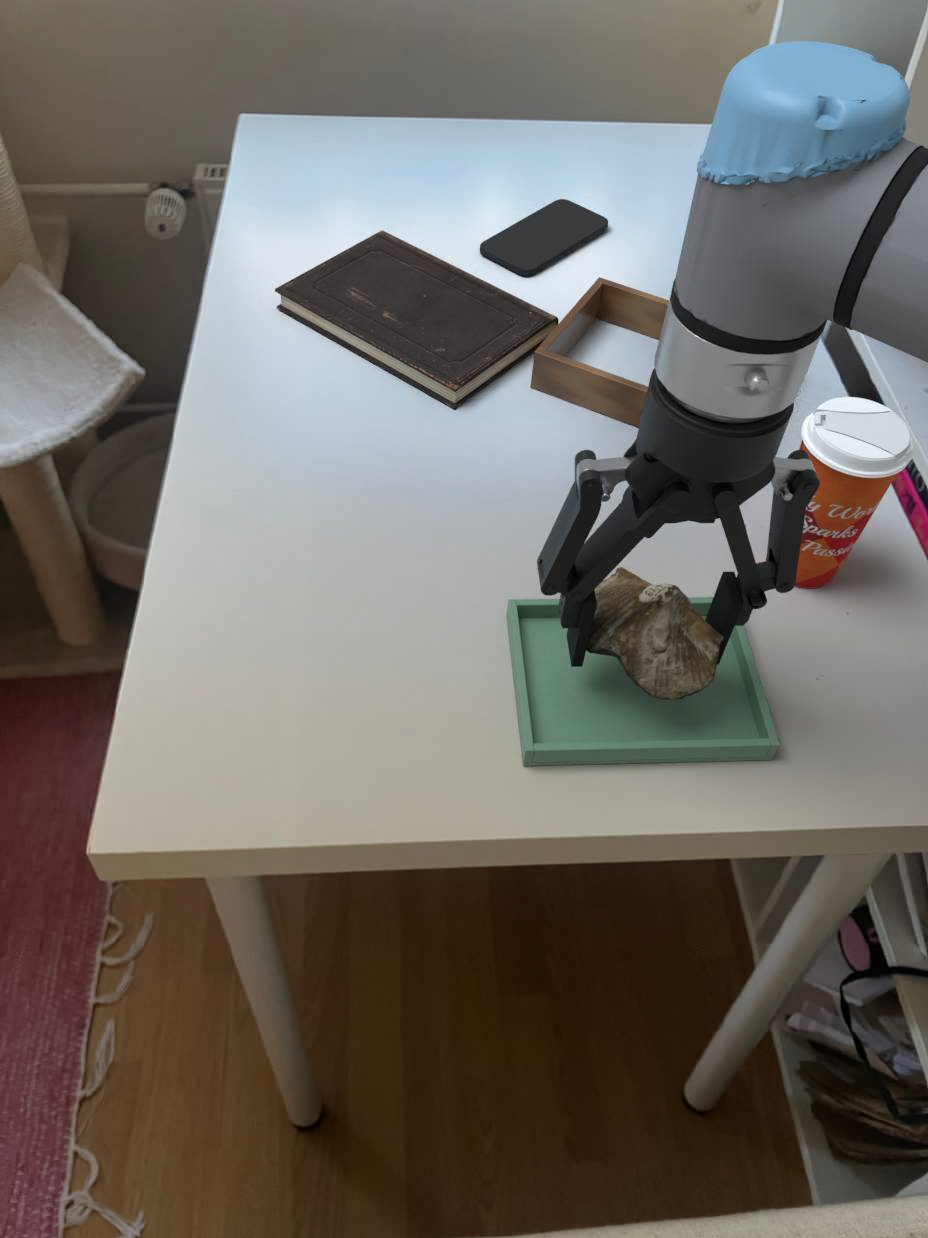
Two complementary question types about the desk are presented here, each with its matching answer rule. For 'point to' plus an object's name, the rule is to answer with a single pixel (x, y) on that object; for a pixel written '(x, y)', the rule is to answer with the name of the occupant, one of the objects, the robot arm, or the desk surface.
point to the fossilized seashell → (654, 636)
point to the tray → (628, 702)
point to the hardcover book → (417, 316)
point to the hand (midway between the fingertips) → (642, 649)
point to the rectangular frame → (584, 380)
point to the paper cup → (846, 479)
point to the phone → (543, 237)
